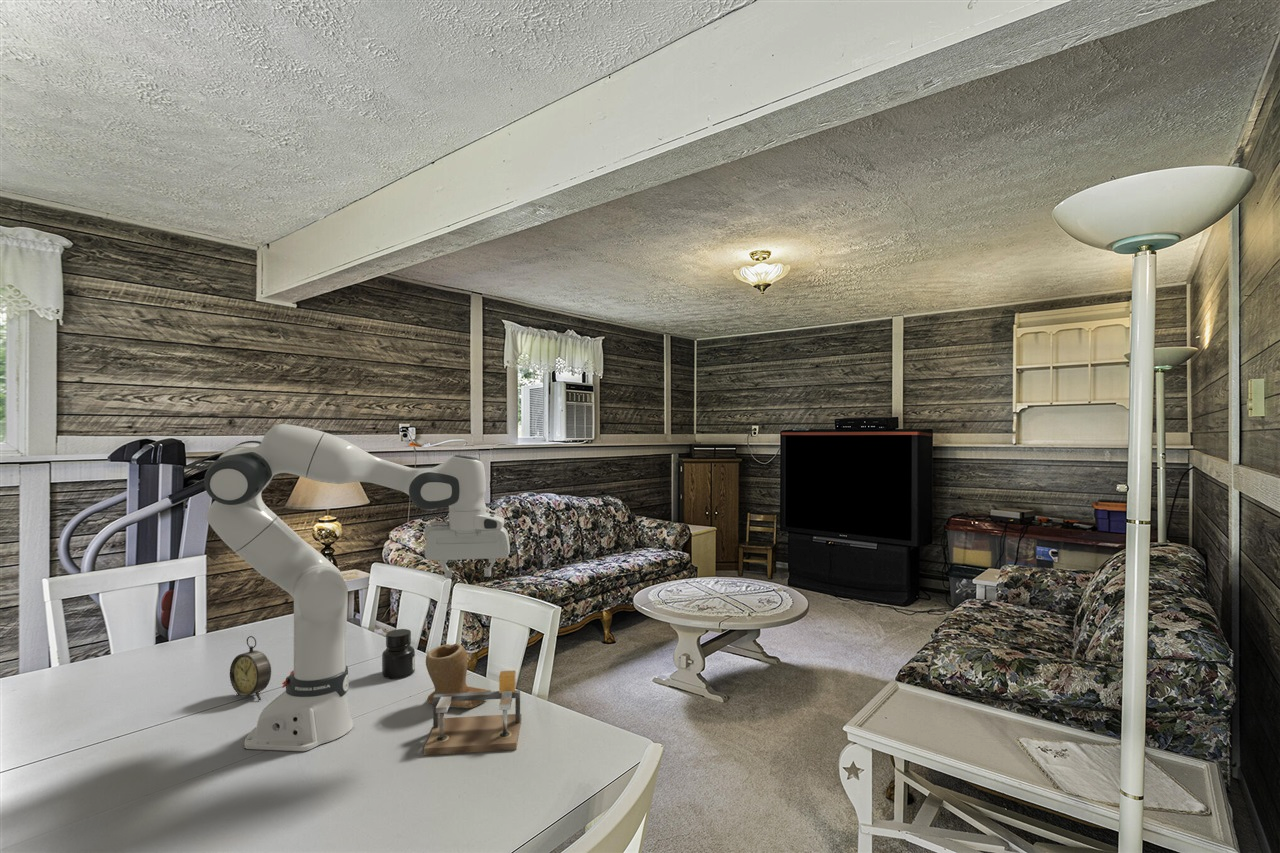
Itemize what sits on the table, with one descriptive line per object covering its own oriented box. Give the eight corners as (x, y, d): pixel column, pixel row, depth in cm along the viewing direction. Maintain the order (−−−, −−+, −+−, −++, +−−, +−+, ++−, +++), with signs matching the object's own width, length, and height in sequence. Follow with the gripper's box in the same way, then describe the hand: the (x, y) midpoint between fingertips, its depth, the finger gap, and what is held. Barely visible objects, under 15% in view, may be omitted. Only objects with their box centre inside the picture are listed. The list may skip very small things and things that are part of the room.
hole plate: (423, 755, 135) (423, 715, 135) (437, 724, 149) (437, 688, 149) (516, 749, 138) (516, 710, 138) (521, 719, 151) (521, 684, 151)
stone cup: (415, 708, 158) (415, 650, 158) (446, 690, 169) (446, 635, 169) (464, 719, 152) (463, 658, 152) (492, 699, 163) (492, 642, 163)
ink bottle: (422, 672, 181) (421, 631, 181) (396, 682, 174) (395, 640, 174) (401, 665, 186) (400, 625, 186) (374, 675, 179) (374, 634, 179)
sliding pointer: (496, 734, 140) (496, 685, 140) (500, 717, 148) (500, 671, 148) (512, 733, 141) (512, 684, 141) (515, 716, 149) (515, 670, 149)
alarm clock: (228, 697, 165) (227, 636, 165) (247, 689, 170) (247, 630, 170) (256, 704, 161) (256, 641, 161) (275, 695, 166) (275, 635, 166)
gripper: (421, 523, 148) (421, 581, 148) (508, 521, 150) (508, 578, 150) (427, 519, 154) (427, 575, 154) (510, 518, 156) (510, 572, 156)
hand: (468, 576), depth 152 cm, fingers open, 8 cm apart
